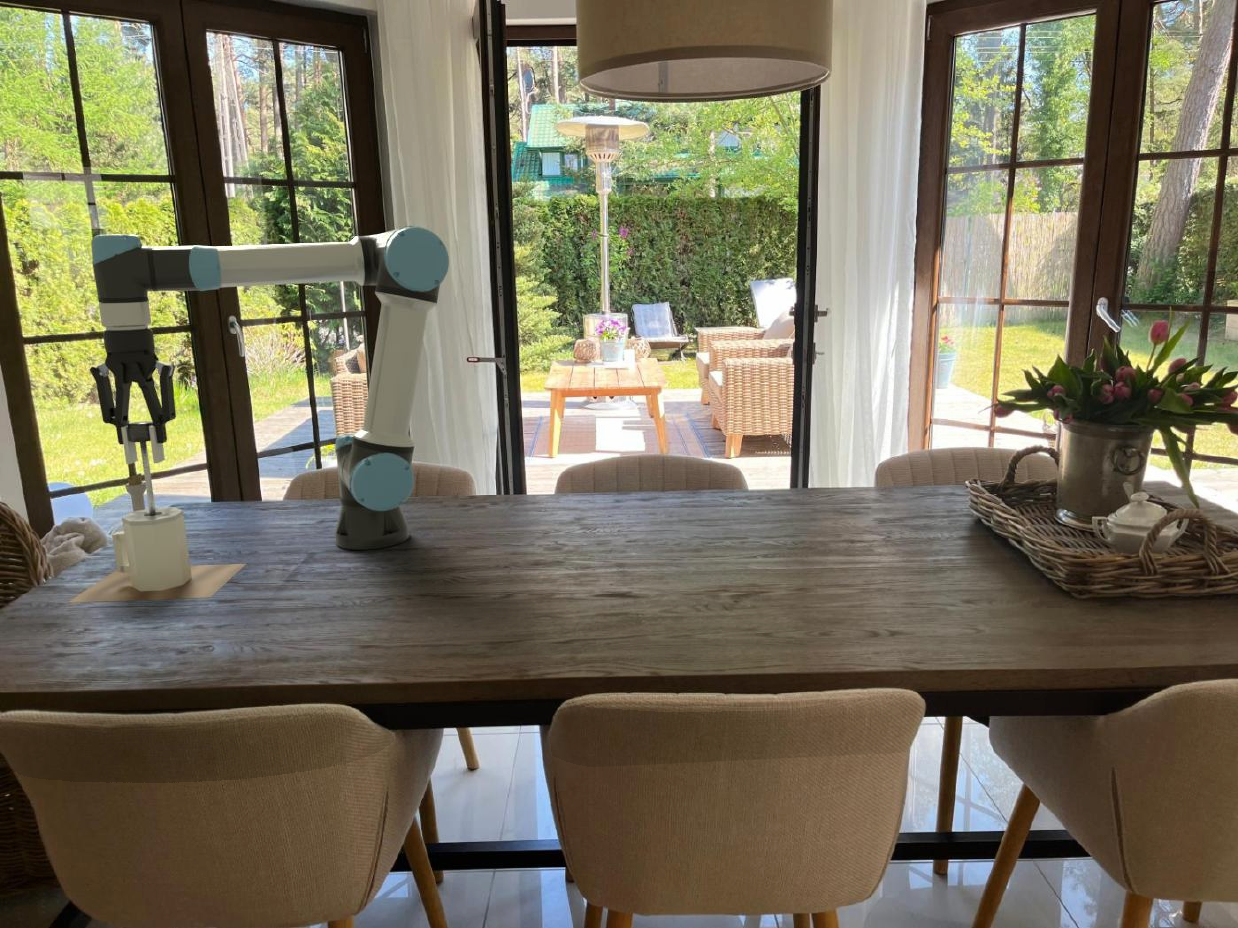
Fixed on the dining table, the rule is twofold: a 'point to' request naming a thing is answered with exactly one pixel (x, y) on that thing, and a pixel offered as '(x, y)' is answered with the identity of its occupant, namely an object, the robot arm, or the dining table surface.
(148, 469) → the plunger
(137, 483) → the potion bottle
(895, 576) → the dining table surface
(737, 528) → the dining table surface
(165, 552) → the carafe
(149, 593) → the board
